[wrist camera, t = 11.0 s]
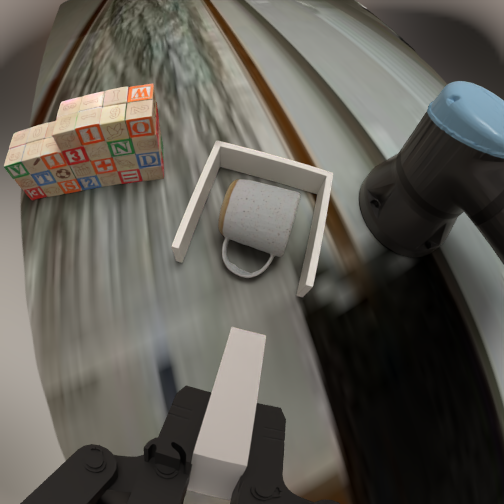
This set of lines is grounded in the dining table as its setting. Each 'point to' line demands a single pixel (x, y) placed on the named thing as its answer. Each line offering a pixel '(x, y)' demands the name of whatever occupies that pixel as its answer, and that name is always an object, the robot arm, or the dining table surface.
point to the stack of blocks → (90, 144)
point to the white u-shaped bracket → (270, 170)
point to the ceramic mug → (257, 219)
